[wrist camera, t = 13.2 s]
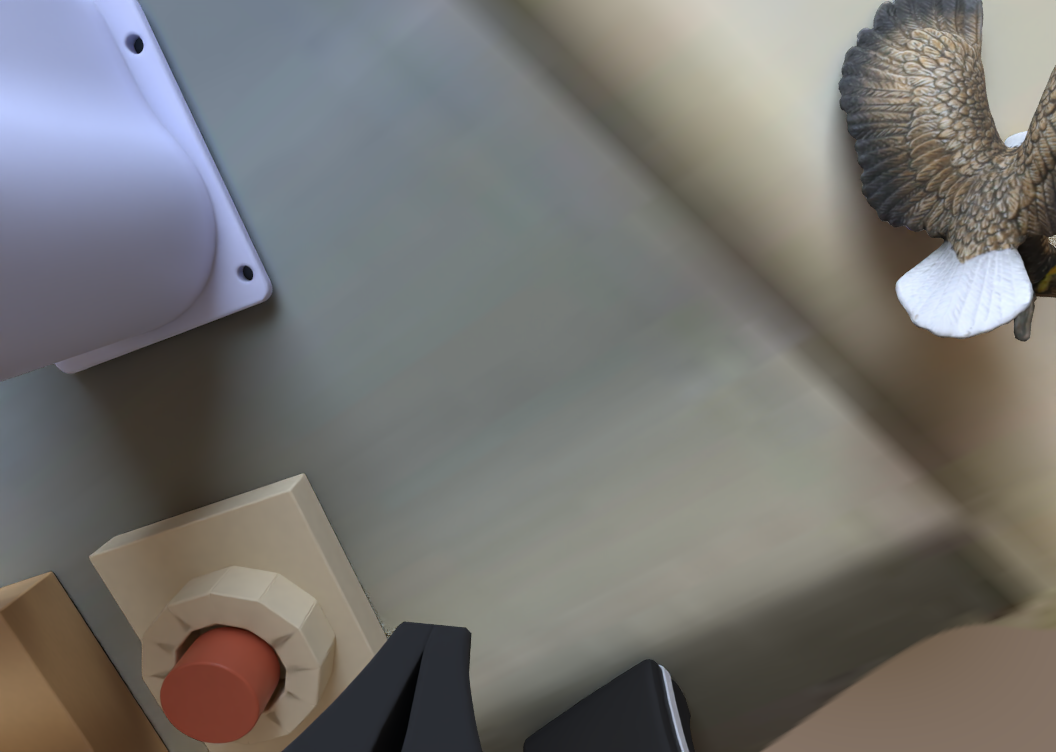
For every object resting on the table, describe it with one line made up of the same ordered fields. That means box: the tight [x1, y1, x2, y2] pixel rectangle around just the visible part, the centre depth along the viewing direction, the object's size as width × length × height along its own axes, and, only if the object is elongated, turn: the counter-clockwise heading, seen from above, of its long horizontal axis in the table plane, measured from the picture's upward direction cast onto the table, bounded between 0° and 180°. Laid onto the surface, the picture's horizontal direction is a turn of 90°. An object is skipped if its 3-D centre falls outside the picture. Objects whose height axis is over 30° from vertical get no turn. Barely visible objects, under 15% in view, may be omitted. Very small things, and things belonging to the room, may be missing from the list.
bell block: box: [89, 473, 388, 752], centre depth 23 cm, size 10×8×3 cm
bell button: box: [160, 627, 280, 743], centre depth 21 cm, size 3×3×2 cm
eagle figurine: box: [839, 0, 1056, 342], centre depth 16 cm, size 8×7×9 cm
